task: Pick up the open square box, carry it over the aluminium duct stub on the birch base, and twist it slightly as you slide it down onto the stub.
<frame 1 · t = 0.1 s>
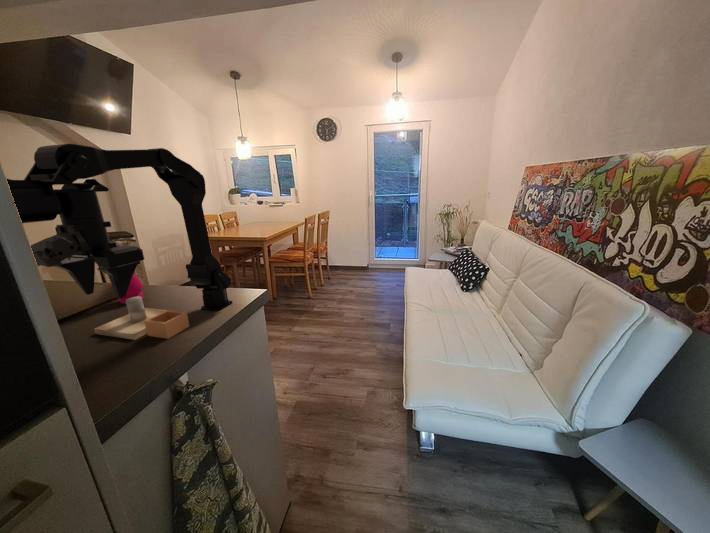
hand: (105, 295, 56), 15 cm above the counter, tool pointing down, fingers open, 9 cm apart
pepper mill: (132, 300, 92), on the counter
duct base: (140, 324, 75), on the counter
open square box: (169, 330, 71), on the counter
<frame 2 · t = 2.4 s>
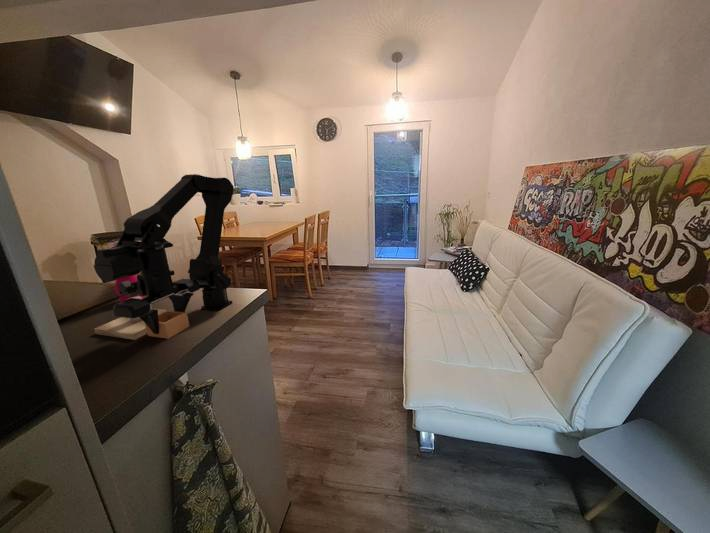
hand: (168, 327, 71), 1 cm above the counter, tool pointing down, fingers closed on open square box, 6 cm apart
open square box: (169, 330, 71), on the counter, touching gripper
everything else where it was.
when the fingers open (4 cm above the counter, at t = 7.0 s): open square box drops 1 cm, resting on duct base.
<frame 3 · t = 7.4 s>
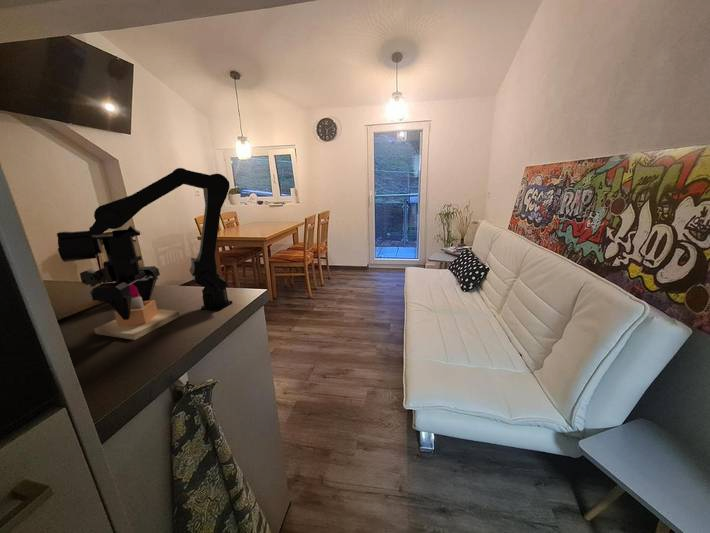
hand: (137, 311, 74), 4 cm above the counter, tool pointing down, fingers open, 9 cm apart
open square box: (139, 319, 74), point 1 cm above the counter, touching duct base
everything else where it was.
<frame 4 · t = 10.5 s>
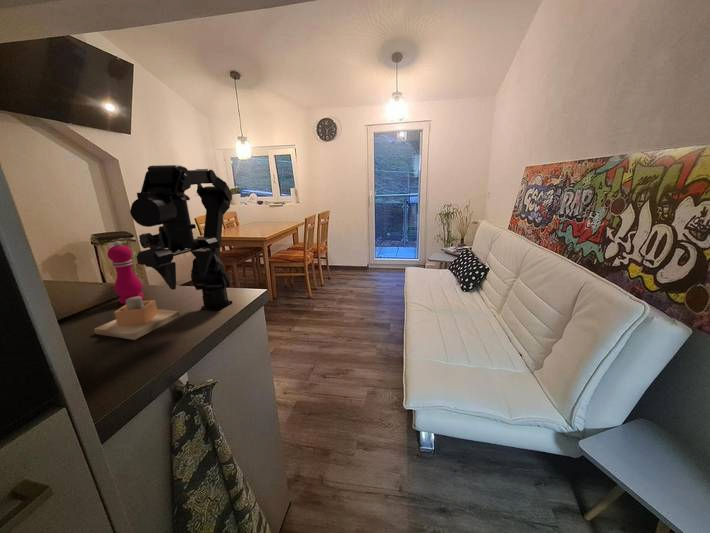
hand: (189, 282, 70), 12 cm above the counter, tool pointing down, fingers open, 9 cm apart
nothing on the counter moved.
at the end: open square box 0.0 cm from the duct base (horizontally); open square box point 1.5 cm above the counter; open square box tilted 0° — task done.
